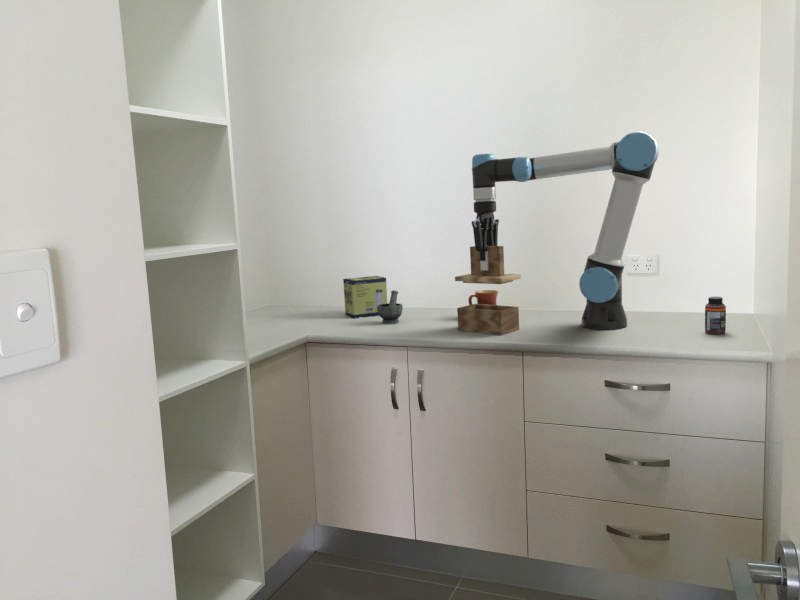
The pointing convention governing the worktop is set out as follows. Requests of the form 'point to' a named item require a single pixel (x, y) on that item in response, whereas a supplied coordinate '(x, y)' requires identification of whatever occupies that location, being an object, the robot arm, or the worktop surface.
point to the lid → (495, 268)
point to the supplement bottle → (715, 316)
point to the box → (488, 319)
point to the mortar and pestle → (390, 310)
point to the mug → (485, 297)
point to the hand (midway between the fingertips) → (487, 269)
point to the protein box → (364, 295)
